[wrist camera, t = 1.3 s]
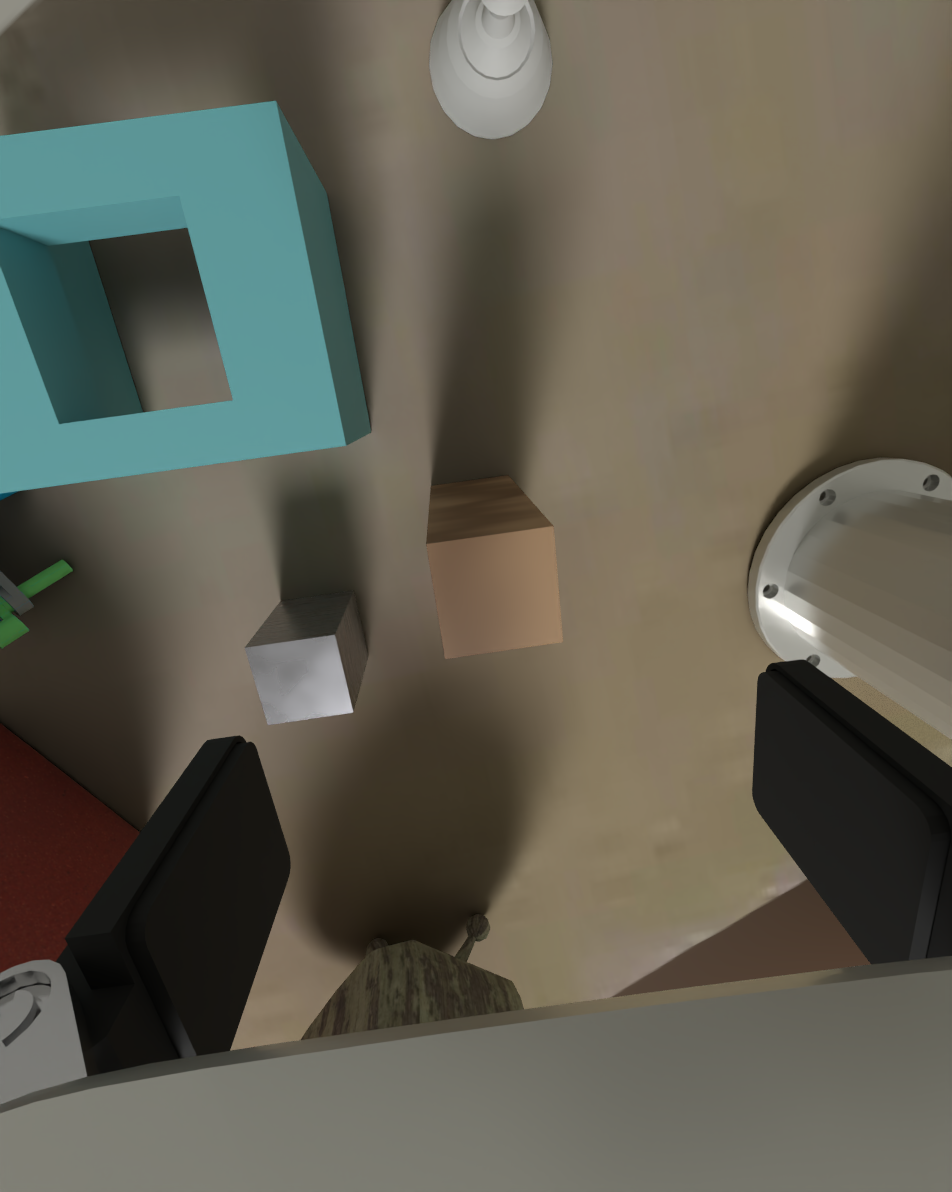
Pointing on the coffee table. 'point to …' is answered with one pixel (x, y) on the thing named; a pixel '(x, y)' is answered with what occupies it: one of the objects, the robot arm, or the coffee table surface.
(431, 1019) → the tabletop clock
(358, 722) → the coffee table surface
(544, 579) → the walnut pin
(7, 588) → the gear
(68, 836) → the plant pot
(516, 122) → the chalice
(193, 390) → the coffee table surface
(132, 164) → the bridge block
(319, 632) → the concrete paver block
